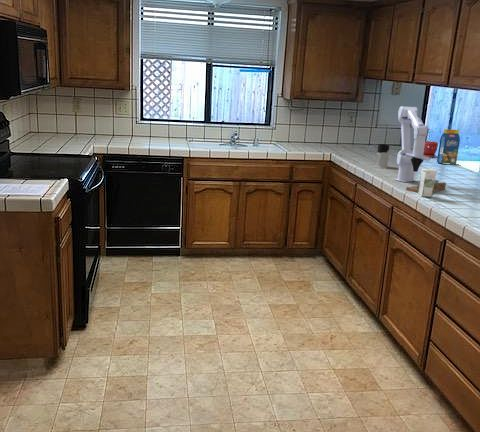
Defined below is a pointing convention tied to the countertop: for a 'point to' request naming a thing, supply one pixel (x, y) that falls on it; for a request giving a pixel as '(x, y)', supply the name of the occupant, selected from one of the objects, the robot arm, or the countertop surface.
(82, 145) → the countertop surface
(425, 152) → the plant pot
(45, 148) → the countertop surface
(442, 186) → the shelf
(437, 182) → the tray
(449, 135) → the blue food package
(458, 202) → the countertop surface
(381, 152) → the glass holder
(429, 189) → the syrup box
